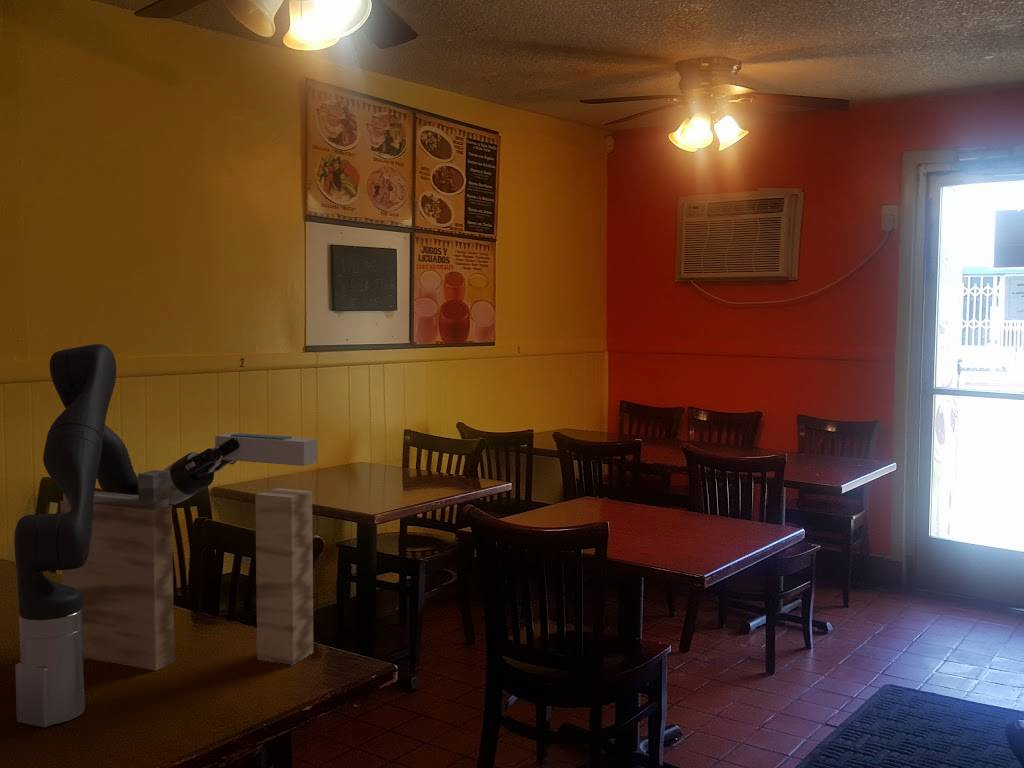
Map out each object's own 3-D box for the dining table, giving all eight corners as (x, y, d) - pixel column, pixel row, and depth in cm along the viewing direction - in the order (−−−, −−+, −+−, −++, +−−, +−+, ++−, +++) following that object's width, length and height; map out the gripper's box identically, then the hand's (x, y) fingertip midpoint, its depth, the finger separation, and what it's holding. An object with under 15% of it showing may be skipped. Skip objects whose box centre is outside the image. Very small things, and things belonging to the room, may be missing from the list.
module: (317, 462, 178) (317, 437, 178) (303, 466, 174) (303, 440, 174) (230, 456, 185) (229, 431, 185) (215, 459, 181) (215, 434, 181)
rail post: (155, 670, 173) (152, 475, 171) (64, 655, 181) (59, 467, 179) (174, 661, 178) (171, 471, 176) (84, 646, 186) (79, 463, 183)
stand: (293, 665, 176) (291, 497, 174) (257, 659, 179) (255, 494, 177) (313, 653, 183) (312, 491, 181) (278, 648, 186) (277, 488, 184)
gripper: (150, 467, 181) (213, 426, 175) (200, 457, 194) (259, 419, 188) (166, 501, 180) (230, 462, 174) (215, 489, 193) (275, 452, 187)
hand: (245, 440), depth 181 cm, fingers closed on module, 4 cm apart
